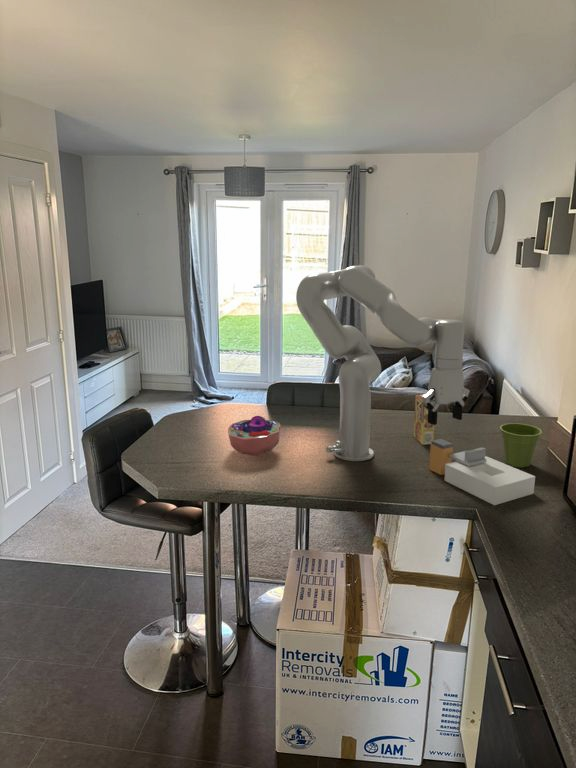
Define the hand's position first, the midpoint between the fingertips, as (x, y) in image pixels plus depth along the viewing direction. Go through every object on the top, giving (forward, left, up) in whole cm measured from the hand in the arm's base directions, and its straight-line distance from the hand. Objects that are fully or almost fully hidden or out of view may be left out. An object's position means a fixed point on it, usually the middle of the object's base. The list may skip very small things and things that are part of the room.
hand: (444, 421), depth 164 cm
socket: (+3, -15, -16) cm, 22 cm away
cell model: (-42, +40, -16) cm, 60 cm away
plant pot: (+25, -7, -16) cm, 30 cm away
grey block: (+3, -7, -10) cm, 13 cm away
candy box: (+14, +23, -16) cm, 31 cm away
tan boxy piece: (0, 0, -16) cm, 16 cm away
